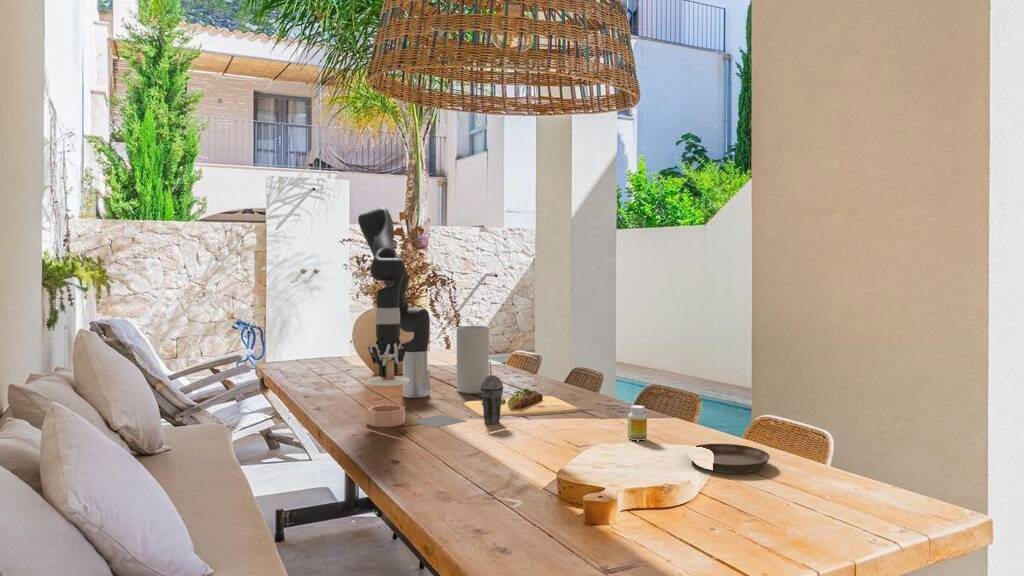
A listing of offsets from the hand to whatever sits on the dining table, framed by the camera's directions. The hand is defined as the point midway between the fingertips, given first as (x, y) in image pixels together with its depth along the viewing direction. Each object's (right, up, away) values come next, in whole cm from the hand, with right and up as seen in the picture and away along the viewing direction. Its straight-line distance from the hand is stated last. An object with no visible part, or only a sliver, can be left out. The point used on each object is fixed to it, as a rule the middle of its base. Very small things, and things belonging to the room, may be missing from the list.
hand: (388, 376), depth 231 cm
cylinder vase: (+24, -13, +57) cm, 63 cm away
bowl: (-1, -15, +1) cm, 15 cm away
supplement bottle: (+75, -16, -18) cm, 79 cm away
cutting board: (+41, -15, +25) cm, 51 cm away
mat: (+16, -15, +3) cm, 22 cm away
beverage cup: (+33, -15, 0) cm, 36 cm away
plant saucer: (+94, -18, -43) cm, 105 cm away
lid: (0, -2, 0) cm, 2 cm away
